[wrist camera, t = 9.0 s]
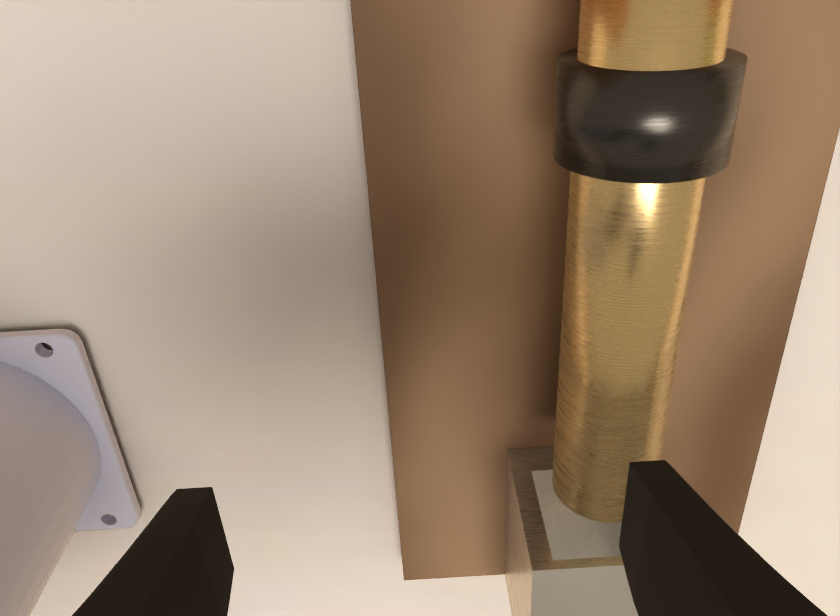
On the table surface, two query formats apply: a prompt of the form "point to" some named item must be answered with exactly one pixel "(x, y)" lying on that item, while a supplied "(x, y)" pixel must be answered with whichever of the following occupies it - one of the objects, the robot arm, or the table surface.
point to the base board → (564, 252)
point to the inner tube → (632, 224)
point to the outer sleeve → (558, 548)
